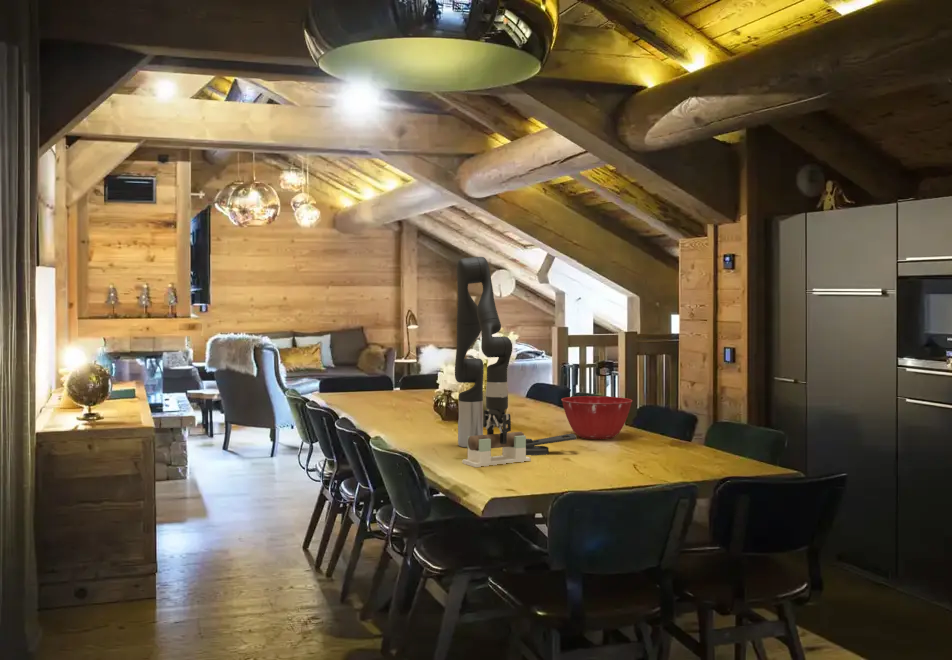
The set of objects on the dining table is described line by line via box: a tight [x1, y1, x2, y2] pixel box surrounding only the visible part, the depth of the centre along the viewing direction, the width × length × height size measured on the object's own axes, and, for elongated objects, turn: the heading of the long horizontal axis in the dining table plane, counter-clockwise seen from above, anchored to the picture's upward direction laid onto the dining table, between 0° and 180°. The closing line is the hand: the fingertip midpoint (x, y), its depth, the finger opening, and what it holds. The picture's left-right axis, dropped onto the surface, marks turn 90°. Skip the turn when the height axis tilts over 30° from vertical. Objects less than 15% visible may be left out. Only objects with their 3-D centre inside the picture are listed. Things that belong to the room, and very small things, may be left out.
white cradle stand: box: [461, 434, 532, 468], centre depth 316 cm, size 22×9×9 cm, turn 120°
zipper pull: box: [526, 433, 578, 456], centre depth 334 cm, size 9×7×25 cm
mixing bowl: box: [561, 395, 633, 440], centre depth 372 cm, size 28×28×16 cm
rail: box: [468, 431, 525, 450], centre depth 316 cm, size 20×5×5 cm, turn 120°
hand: (496, 442), depth 316 cm, fingers open, 8 cm apart
